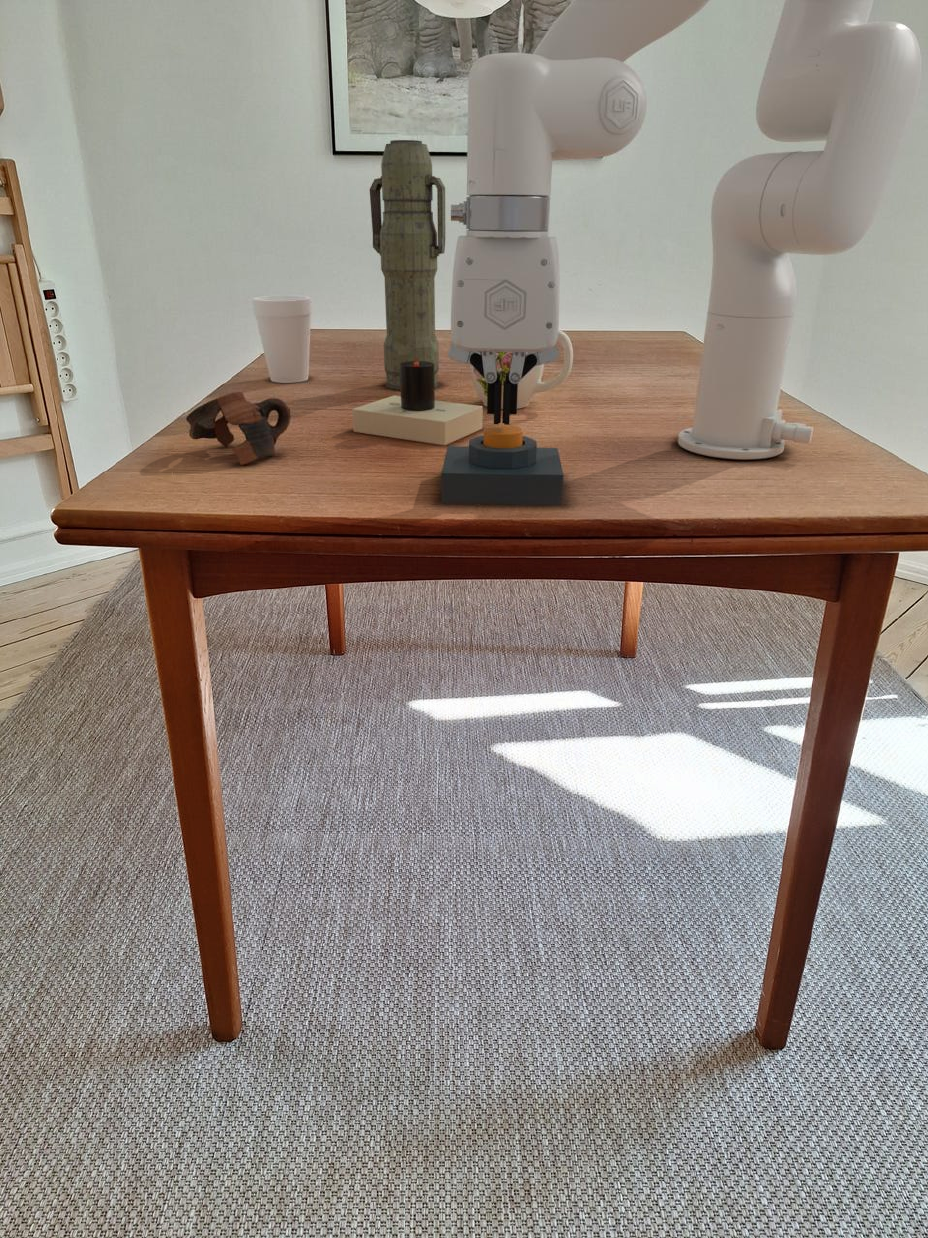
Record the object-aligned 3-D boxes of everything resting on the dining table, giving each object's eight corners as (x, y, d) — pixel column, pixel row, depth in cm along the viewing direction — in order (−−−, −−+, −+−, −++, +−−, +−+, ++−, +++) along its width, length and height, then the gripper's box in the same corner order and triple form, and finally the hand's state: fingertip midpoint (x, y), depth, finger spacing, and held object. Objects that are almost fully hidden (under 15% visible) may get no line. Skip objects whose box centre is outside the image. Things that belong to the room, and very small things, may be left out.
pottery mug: (220, 476, 91) (183, 408, 89) (209, 490, 99) (175, 429, 98) (313, 433, 95) (279, 368, 94) (295, 451, 104) (263, 391, 102)
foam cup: (311, 384, 135) (304, 301, 129) (255, 384, 135) (246, 301, 129) (321, 374, 143) (315, 295, 137) (268, 373, 143) (260, 295, 137)
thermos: (387, 378, 140) (378, 143, 124) (453, 382, 137) (452, 142, 121) (368, 388, 132) (356, 139, 116) (438, 392, 129) (435, 138, 113)
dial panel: (482, 428, 109) (482, 404, 107) (444, 445, 101) (444, 420, 99) (395, 416, 115) (394, 393, 113) (353, 431, 107) (351, 407, 105)
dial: (402, 403, 108) (400, 358, 106) (435, 403, 108) (434, 358, 106) (399, 410, 104) (398, 364, 102) (434, 410, 104) (433, 364, 102)
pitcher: (556, 418, 114) (562, 314, 107) (441, 406, 120) (441, 307, 114) (580, 403, 123) (587, 306, 116) (472, 392, 129) (473, 300, 123)
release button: (521, 441, 85) (522, 424, 84) (522, 451, 81) (523, 434, 81) (483, 440, 85) (483, 424, 84) (482, 451, 82) (483, 433, 81)
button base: (556, 476, 90) (558, 431, 87) (561, 505, 81) (564, 456, 78) (447, 474, 90) (447, 429, 88) (441, 503, 81) (441, 454, 79)
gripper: (422, 218, 71) (424, 428, 79) (594, 220, 70) (578, 432, 78) (429, 218, 77) (430, 411, 86) (586, 219, 77) (572, 414, 85)
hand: (501, 421), depth 82 cm, fingers closed
